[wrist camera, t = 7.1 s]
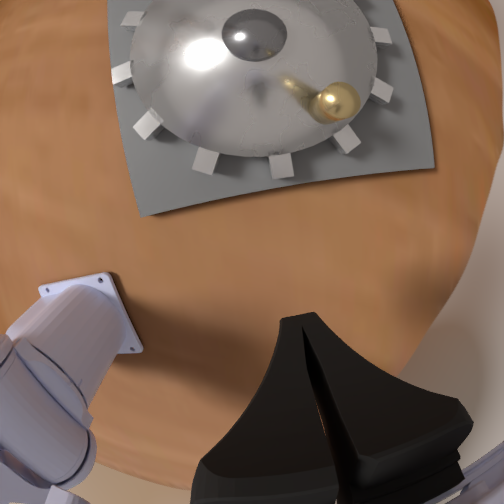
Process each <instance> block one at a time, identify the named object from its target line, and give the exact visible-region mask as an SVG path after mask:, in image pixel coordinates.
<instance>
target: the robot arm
mask: <svg viewBox="0 0 504 504" xmlns="http://www.w3.org/2000/svg"><path fill="white" fill-rule="evenodd" d="M100 278H102V280H103V281H101V280H100ZM39 293H40V295H41V298H40V299H39V300H38V301H37V302H35V303H34V304H33V305H32V306H31V307H30V308H29V309H28V310H27V311H26V312H25V313H24V314H22V315H21V316H20V317H19V318H18V319H17V320H16V321H15V322H14V323H13V324H12V325H11V326H10V327H9V329H8V330H7V332H6V334H5V335H3V334H0V504H9V503H10V502H15V503H25V504H90V503H89V502H88V501H86V500H84V499H83V498H81V497H79V496H77V495H75V494H73V493H71V492H68V491H66V490H68V489H70V488H73V487H75V486H76V485H78V484H80V483H81V482H82V481H83V480H84V479H85V478H86V477H87V476H88V475H89V473H90V472H91V470H92V468H93V465H94V462H95V458H96V451H97V445H96V439H95V436H94V435H93V433H92V431H91V430H90V429H89V427H90V425H91V423H92V420H93V417H92V416H91V415H90V413H89V412H88V410H87V409H88V407H89V405H90V403H91V401H92V400H93V398H94V396H95V394H96V392H97V390H98V388H99V386H100V384H101V382H102V380H103V378H104V377H105V375H106V373H107V371H108V369H109V367H110V366H111V364H112V362H113V360H114V358H115V357H116V355H117V354H126V353H141V352H142V351H143V346H142V344H141V342H140V340H139V338H138V336H137V334H136V332H135V330H134V327H133V325H132V323H131V321H130V319H129V317H128V315H127V312H126V310H125V308H124V306H123V303H122V301H121V299H120V296H119V294H118V291H117V289H116V287H115V284H114V282H113V279H112V277H111V275H110V274H109V273H107V272H103V273H98V274H93V275H88V276H83V277H78V278H73V279H68V280H63V281H59V282H54V283H49V284H44V285H41V286H40V287H39ZM132 347H133V348H134V349H133V348H132ZM315 400H316V401H315ZM316 403H317V405H316ZM317 406H318V408H317ZM318 409H319V412H320V415H321V419H322V422H323V426H324V429H323V426H322V422H321V419H320V415H319V412H318ZM473 423H474V422H473V421H472V419H471V417H470V416H469V414H468V412H467V411H466V409H465V407H464V406H463V405H462V404H461V403H460V401H459V400H458V399H457V398H453V397H449V396H445V395H441V394H437V393H433V392H430V391H427V390H424V389H421V388H419V387H416V386H414V385H411V384H409V383H407V382H404V381H402V380H400V379H398V378H396V377H394V376H392V375H390V374H388V373H387V372H385V371H383V370H381V369H380V368H378V367H376V366H375V365H373V364H372V363H370V362H369V361H367V360H366V359H364V358H363V357H362V356H360V355H359V354H358V353H357V352H355V351H354V350H353V349H352V348H350V347H349V346H348V345H347V344H346V343H344V342H343V341H342V340H341V339H340V338H339V337H338V336H337V335H336V334H335V333H334V332H333V331H332V330H331V329H330V328H329V327H328V326H327V325H326V324H325V323H324V322H323V321H322V320H321V318H320V317H319V316H318V315H317V314H316V313H315V312H311V313H306V314H301V315H296V316H290V317H285V318H282V319H281V320H280V328H279V335H278V339H277V343H276V347H275V350H274V353H273V356H272V359H271V362H270V364H269V367H268V369H267V372H266V374H265V376H264V378H263V381H262V383H261V385H260V386H259V388H258V390H257V392H256V394H255V395H254V397H253V399H252V400H251V402H250V403H249V405H248V407H247V408H246V410H245V411H244V412H243V414H242V415H241V417H240V418H239V419H238V420H237V422H236V423H235V424H234V425H233V427H232V428H231V429H230V430H229V431H228V433H227V434H226V435H225V436H224V437H223V438H222V439H221V440H220V441H219V442H218V443H217V444H216V445H215V446H214V447H213V448H212V449H211V450H210V451H209V452H208V453H207V454H206V455H205V456H204V457H203V458H202V459H201V460H200V462H199V464H198V467H197V469H196V472H195V476H194V479H193V483H192V490H191V501H190V504H335V501H336V499H337V504H436V503H438V502H440V501H442V500H444V499H446V498H447V497H449V496H451V495H453V494H454V493H456V492H458V491H459V490H461V489H462V491H461V493H460V495H459V496H457V497H456V498H454V499H452V500H451V501H449V502H447V503H446V504H504V441H503V442H502V443H500V444H499V445H498V446H496V447H495V448H494V449H492V450H491V451H490V452H488V453H487V454H485V455H484V456H483V457H481V458H480V459H478V460H477V461H475V462H474V463H472V464H471V465H469V466H468V467H466V468H464V469H463V470H461V468H460V466H459V464H458V462H457V461H458V460H459V459H460V454H459V452H458V450H457V449H458V447H459V446H460V445H461V443H462V442H463V441H464V440H465V439H466V437H467V436H468V435H469V433H470V432H471V430H472V427H473ZM324 430H325V433H324ZM325 435H326V436H325Z"/></svg>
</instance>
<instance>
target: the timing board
mask: <svg viewBox="0 0 504 504" xmlns="http://www.w3.org/2000/svg"><path fill="white" fill-rule="evenodd" d="M152 1H153V0H108V35H109V50H110V61H111V69H112V68H114V67H117V66H119V65H121V64H124V63H126V62H128V61H130V50H131V43H132V39H133V35H134V32H128V31H126V30H125V29H124V28H123V27H121V26H120V25H121V23H122V21H123V19H124V18H125V16H126V14H127V12H128V11H140V12H145V10H146V9H147V7H148V6H149V5H150V4H151V3H152ZM353 1H354V2H355V3H356V5H357V6H358V7H359V8H360V10H361V11H362V13H363V14H364V16H365V18H366V19H367V21H368V23H369V25H370V27H378V28H385V29H388V32H389V35H390V38H391V41H392V44H391V45H390V46H388V47H387V48H385V49H382V48H376V49H377V59H378V60H377V73H376V78H378V79H380V80H381V81H383V82H385V83H387V84H388V85H390V86H392V87H393V92H392V95H391V98H390V101H389V103H387V104H384V105H379V104H377V103H375V102H374V101H372V100H370V99H367V101H366V103H365V104H364V106H363V108H362V109H361V110H360V112H359V113H358V114H357V115H356V116H355V117H354V119H353V120H352V121H351V122H349V123H348V125H349V126H350V127H351V129H352V130H353V131H354V133H355V134H356V136H357V137H358V138H359V140H360V141H361V143H360V144H359V145H358V146H356V147H355V148H354V149H352V150H351V151H350V152H349V153H347V154H340V153H339V151H338V150H337V149H336V147H335V146H334V145H333V143H332V142H331V141H330V139H329V138H328V139H326V140H324V141H322V142H320V143H318V144H316V145H314V146H311V147H308V148H305V149H302V150H299V151H296V152H291V153H290V154H291V160H292V166H293V172H294V176H292V177H286V178H279V179H272V178H271V173H270V167H269V162H268V156H265V157H243V156H235V155H227V154H222V153H221V156H220V159H219V162H218V165H217V168H216V171H215V174H213V175H209V174H206V173H202V172H199V171H196V170H193V169H192V167H193V164H194V161H195V157H196V154H197V151H198V148H199V146H196V145H193V144H191V143H189V142H187V141H185V140H183V139H181V138H179V137H178V136H176V135H175V134H173V133H172V132H170V131H169V130H167V129H166V128H164V129H163V130H162V131H161V132H160V133H159V134H158V135H157V136H156V137H155V138H154V139H153V140H152V141H146V140H144V139H143V138H142V137H141V136H140V135H139V134H138V133H137V132H136V130H135V129H134V128H133V126H134V125H135V124H136V123H137V122H138V121H139V120H140V119H141V118H142V117H143V116H144V115H145V114H146V112H147V111H148V110H147V109H146V107H145V106H144V104H143V103H142V101H141V99H140V97H139V96H138V94H137V91H136V88H135V86H134V83H133V84H130V85H127V86H125V87H123V88H120V87H117V86H115V85H113V88H114V95H115V102H116V108H117V115H118V120H119V126H120V132H121V137H122V142H123V147H124V152H125V157H126V161H127V166H128V170H129V174H130V179H131V183H132V187H133V191H134V195H135V198H136V202H137V206H138V210H139V213H140V217H145V216H149V215H153V214H157V213H161V212H165V211H169V210H173V209H177V208H181V207H186V206H190V205H194V204H199V203H203V202H208V201H212V200H217V199H222V198H226V197H231V196H236V195H241V194H246V193H251V192H257V191H262V190H267V189H273V188H278V187H284V186H290V185H296V184H302V183H308V182H315V181H321V180H328V179H335V178H342V177H350V176H358V175H366V174H374V173H383V172H393V171H403V170H414V169H427V168H435V166H434V155H433V146H432V138H431V131H430V124H429V118H428V113H427V107H426V102H425V98H424V93H423V89H422V84H421V80H420V76H419V73H418V69H417V65H416V62H415V58H414V55H413V52H412V49H411V46H410V43H409V40H408V37H407V34H406V31H405V29H404V26H403V23H402V21H401V18H400V16H399V14H398V11H397V9H396V7H395V4H394V2H393V0H353Z"/></svg>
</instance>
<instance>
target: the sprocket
mask: <svg viewBox="0 0 504 504" xmlns="http://www.w3.org/2000/svg"><path fill="white" fill-rule="evenodd" d="M120 26H121V27H123V28H124V29H125V30H126V31H128V32H134V35H133V39H132V43H131V50H130V61H128V62H126V63H124V64H121V65H119V66H117V67H114V68H112V69H111V72H112V81H113V85H115V86H117V87H120V88H123V87H125V86H127V85H130V84H133V83H134V86H135V88H136V91H137V94H138V96H139V97H140V99H141V101H142V103H143V104H144V106H145V107H146V109H147V110H148V111H147V112H146V114H145V115H144V116H143V117H142V118H141V119H140V120H139V121H138V122H137V123H136V124H135V125H134V126H133V128H134V129H135V130H136V132H137V133H138V134H139V135H140V136H141V137H142V138H143V139H144V140H146V141H152V140H153V139H154V138H155V137H156V136H157V135H158V134H159V133H160V132H161V131H162V130H163V129H164V128H166V129H167V130H169V131H170V132H172V133H173V134H175V135H176V136H178V137H179V138H181V139H183V140H185V141H187V142H189V143H191V144H193V145H196V146H199V148H198V151H197V154H196V157H195V161H194V164H193V167H192V169H193V170H196V171H199V172H202V173H206V174H209V175H213V174H215V171H216V168H217V165H218V162H219V159H220V156H221V153H222V154H227V155H235V156H243V157H265V156H268V162H269V167H270V173H271V178H272V179H279V178H286V177H292V176H294V172H293V166H292V160H291V154H290V153H291V152H296V151H299V150H302V149H305V148H308V147H311V146H314V145H316V144H318V143H320V142H322V141H324V140H326V139H328V138H329V139H330V141H331V142H332V143H333V145H334V146H335V147H336V149H337V150H338V151H339V153H340V154H347V153H349V152H350V151H351V150H352V149H354V148H355V147H356V146H358V145H359V144H360V143H361V141H360V140H359V138H358V137H357V136H356V134H355V133H354V131H353V130H352V129H351V127H350V126H349V125H348V123H349V122H351V121H352V120H353V119H354V117H355V116H356V115H357V114H358V113H359V112H360V110H361V109H362V108H363V106H364V104H365V103H366V101H367V99H370V100H372V101H374V102H375V103H377V104H379V105H384V104H387V103H389V101H390V98H391V95H392V92H393V87H392V86H390V85H388V84H387V83H385V82H383V81H381V80H380V79H378V78H376V73H377V60H378V59H377V49H376V48H382V49H385V48H387V47H388V46H390V45H391V44H392V41H391V38H390V35H389V32H388V29H385V28H378V27H370V25H369V23H368V21H367V19H366V18H365V16H364V14H363V13H362V11H361V10H360V8H359V7H358V6H357V5H356V3H355V2H354V1H353V0H153V1H152V3H151V4H150V5H149V6H148V7H147V9H146V10H145V12H140V11H128V12H127V14H126V16H125V18H124V19H123V21H122V23H121V25H120Z"/></svg>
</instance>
